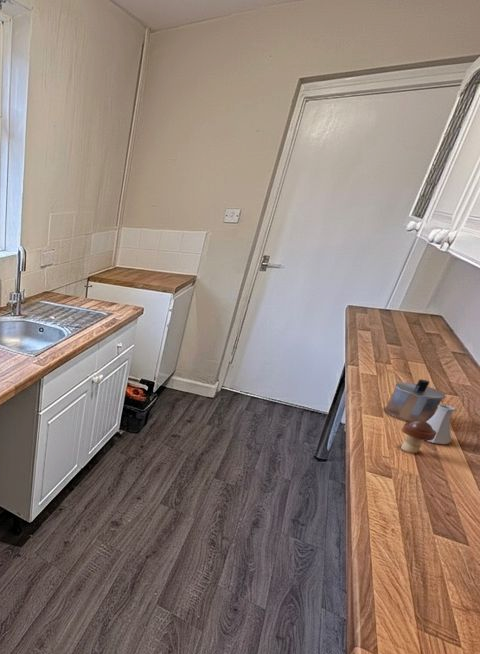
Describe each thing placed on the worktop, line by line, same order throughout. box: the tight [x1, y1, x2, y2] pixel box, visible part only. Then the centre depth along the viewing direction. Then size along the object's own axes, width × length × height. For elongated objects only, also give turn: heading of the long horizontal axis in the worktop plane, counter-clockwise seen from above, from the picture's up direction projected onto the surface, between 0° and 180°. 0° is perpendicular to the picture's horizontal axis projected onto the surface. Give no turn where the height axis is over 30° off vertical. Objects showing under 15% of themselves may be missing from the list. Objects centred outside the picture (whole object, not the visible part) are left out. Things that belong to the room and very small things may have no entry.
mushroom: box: [400, 421, 436, 454], centre depth 109 cm, size 6×6×9 cm
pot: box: [384, 386, 443, 423], centre depth 127 cm, size 10×10×8 cm
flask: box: [426, 403, 457, 445], centre depth 115 cm, size 7×7×10 cm
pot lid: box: [394, 379, 446, 400], centre depth 125 cm, size 11×11×4 cm
